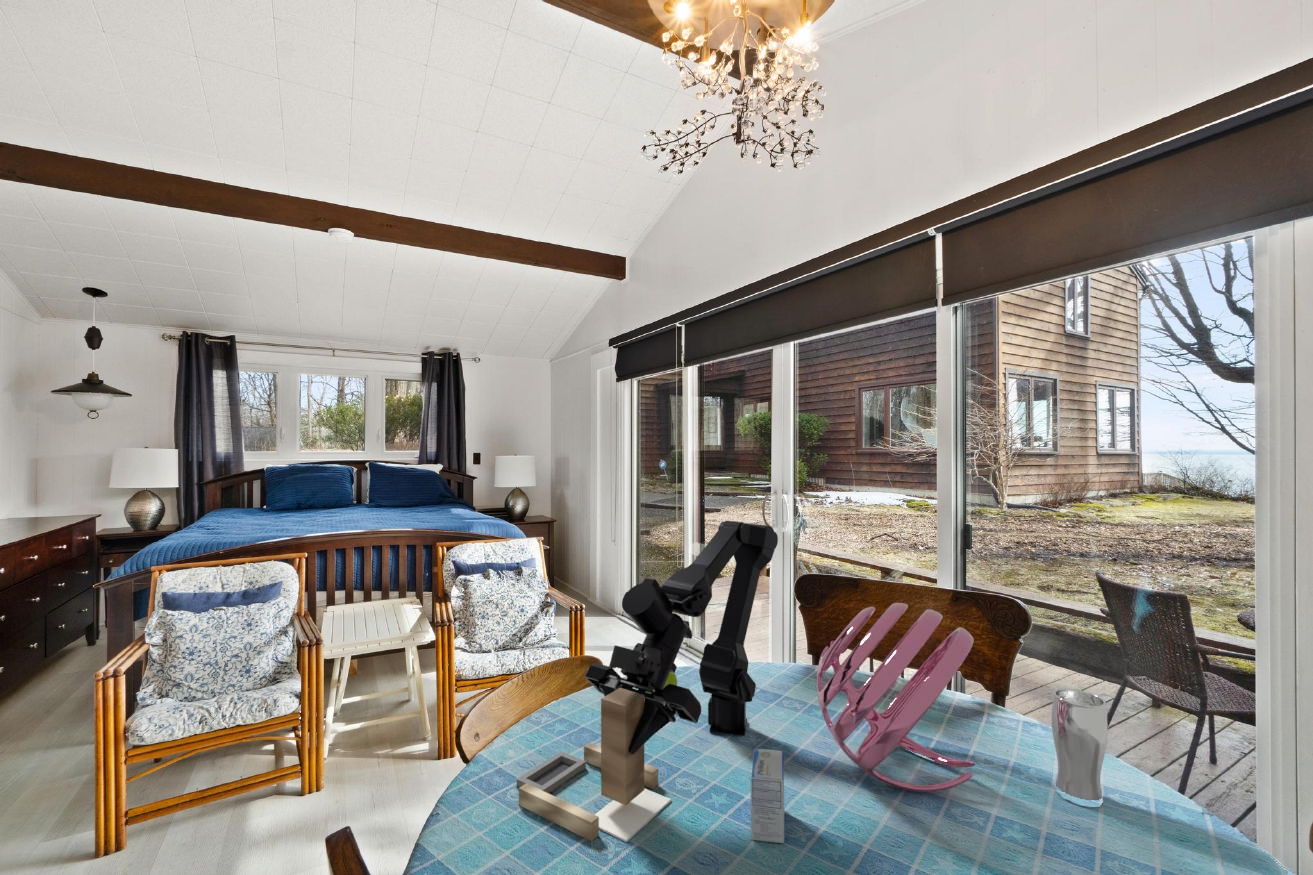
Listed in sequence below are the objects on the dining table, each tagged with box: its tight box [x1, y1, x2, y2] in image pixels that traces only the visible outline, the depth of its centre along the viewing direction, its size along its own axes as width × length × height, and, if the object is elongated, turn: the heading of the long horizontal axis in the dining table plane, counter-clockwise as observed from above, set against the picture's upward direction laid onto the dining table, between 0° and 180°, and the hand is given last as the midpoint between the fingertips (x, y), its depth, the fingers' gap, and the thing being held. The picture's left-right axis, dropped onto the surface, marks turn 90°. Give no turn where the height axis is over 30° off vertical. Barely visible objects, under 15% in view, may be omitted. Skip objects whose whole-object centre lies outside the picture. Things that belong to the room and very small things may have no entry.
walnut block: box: [600, 688, 645, 805], centre depth 87 cm, size 4×4×14 cm
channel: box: [518, 742, 659, 842], centre depth 91 cm, size 14×16×2 cm
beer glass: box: [1051, 687, 1109, 800], centre depth 91 cm, size 7×7×15 cm
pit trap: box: [516, 751, 587, 794], centre depth 95 cm, size 6×10×1 cm, turn 146°
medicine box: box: [750, 748, 785, 844], centre depth 84 cm, size 8×4×9 cm, turn 168°
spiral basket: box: [816, 602, 976, 793], centre depth 98 cm, size 28×28×27 cm
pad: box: [594, 787, 672, 843], centre depth 86 cm, size 7×11×1 cm, turn 146°
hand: (616, 747), depth 86 cm, fingers closed on walnut block, 4 cm apart
